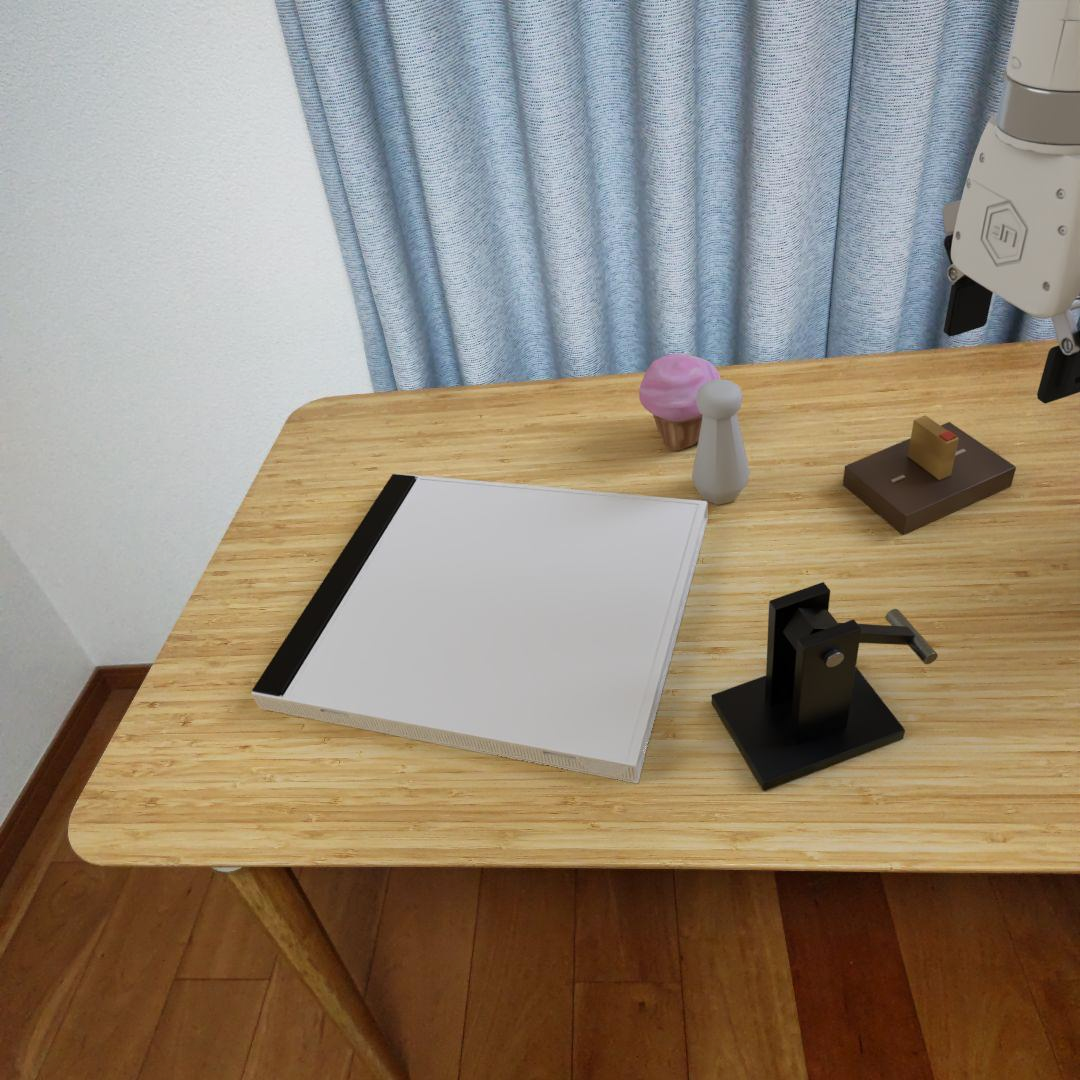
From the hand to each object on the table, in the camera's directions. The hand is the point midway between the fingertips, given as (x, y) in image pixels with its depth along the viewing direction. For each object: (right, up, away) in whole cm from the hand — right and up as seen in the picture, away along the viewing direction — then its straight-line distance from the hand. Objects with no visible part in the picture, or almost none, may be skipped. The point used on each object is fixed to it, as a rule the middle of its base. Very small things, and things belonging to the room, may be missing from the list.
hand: (1009, 361), depth 63 cm
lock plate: (+6, -7, +27) cm, 29 cm away
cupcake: (-17, -1, +39) cm, 42 cm away
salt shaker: (-14, -8, +31) cm, 35 cm away
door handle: (-9, -20, +5) cm, 23 cm away
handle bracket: (-12, -27, +9) cm, 31 cm away
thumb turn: (+5, -5, +25) cm, 26 cm away
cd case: (-37, -19, +23) cm, 48 cm away
